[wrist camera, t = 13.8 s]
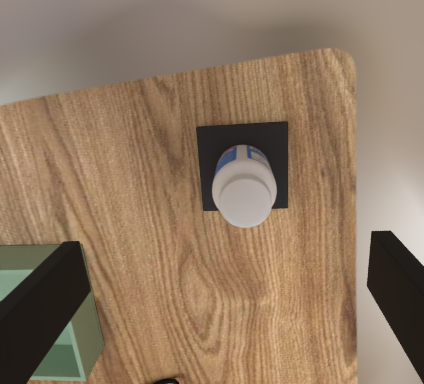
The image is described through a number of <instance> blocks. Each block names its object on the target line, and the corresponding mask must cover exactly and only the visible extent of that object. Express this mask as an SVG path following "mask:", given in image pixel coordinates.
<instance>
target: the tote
mask: <svg viewBox="0 0 424 384" xmlns="http://www.w3.org/2000/svg"><path fill="white" fill-rule="evenodd" d="M59 246H60V245H23V246H0V301H2V300H3V299H4V298H5V297H6V296H7V295H8V294H9V293H10V292H11V291H12V290H13V289H14V288H15V287H16V286H17V285H19V284H20V283H21V282H22V281H23V280H24V279H25V278H26V277H27V276H28V275H29V274H30V273H31V272H32V271H33V270H34V269H35V268H37V267H38V266H39V265H40V264H41V263H42V262H43V261H44V260H45V259H46V258H47V257H48V256H49V255H50V254H51V253H52V252H54V251H55V250H56V249H57V248H58V247H59ZM80 246H81V250H82V254H83V258H84V262H85V266H86V270H87V274H88V269H87V265H86V260H85V256H84V251H83V247H82V244H80ZM88 279H89V283H90V278H89V274H88ZM90 287H91V283H90ZM103 348H104V341H103V337H102V332H101V328H100V323H99V319H98V314H97V310H96V305H95V301H94V296H93V292H92V287H91V292H90V293H89V294H88V296H87V297H86V299H85V300H84V302H83V303H82V305H81V306H80V307H79V309H78V310H77V312H76V313H75V315H74V316H73V317H72V319H71V320H70V322H69V323H68V325H67V326H66V327H65V329H64V330H63V332H62V333H61V335H60V336H59V338H58V339H57V340H56V342H55V343H54V345H53V346H52V348H51V349H50V350H49V352H48V353H47V355H46V356H45V358H44V359H43V360H42V362H41V363H40V365H39V366H38V368H37V369H36V371H35V372H34V373H33V375H32V376H31V378H30V379H29V380H56V381H87V379H88V377H89V375H90V373H91V371H92V369H93V367H94V365H95V363H96V361H97V359H98V357H99V355H100V353H101V352H102V350H103Z"/></svg>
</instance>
